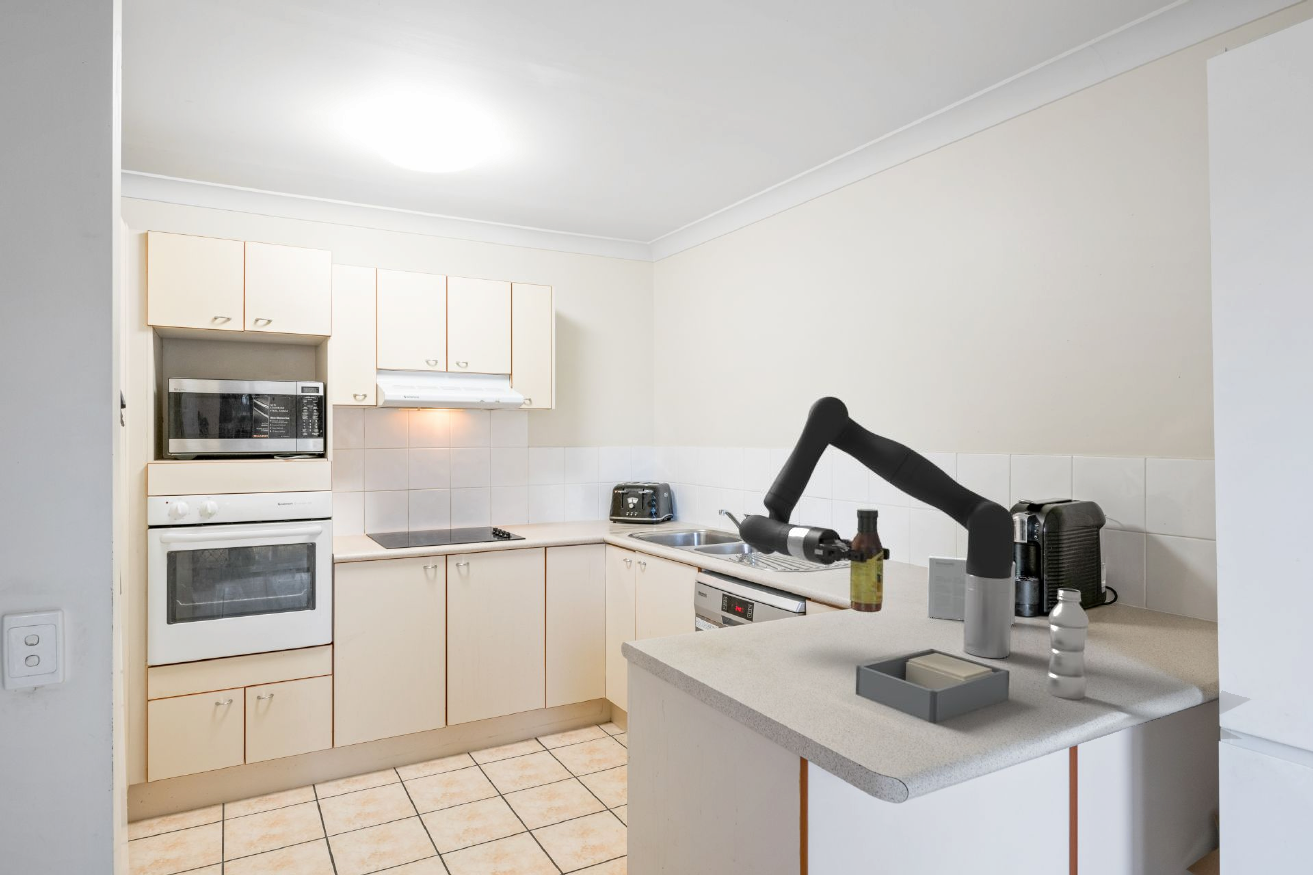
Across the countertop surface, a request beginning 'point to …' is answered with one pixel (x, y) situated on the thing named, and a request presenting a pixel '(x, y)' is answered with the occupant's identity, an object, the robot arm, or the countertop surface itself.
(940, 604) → the skincare box
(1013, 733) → the countertop surface
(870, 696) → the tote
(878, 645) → the countertop surface
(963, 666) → the cream rectangular box
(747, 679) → the countertop surface
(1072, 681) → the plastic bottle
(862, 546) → the sauce bottle
